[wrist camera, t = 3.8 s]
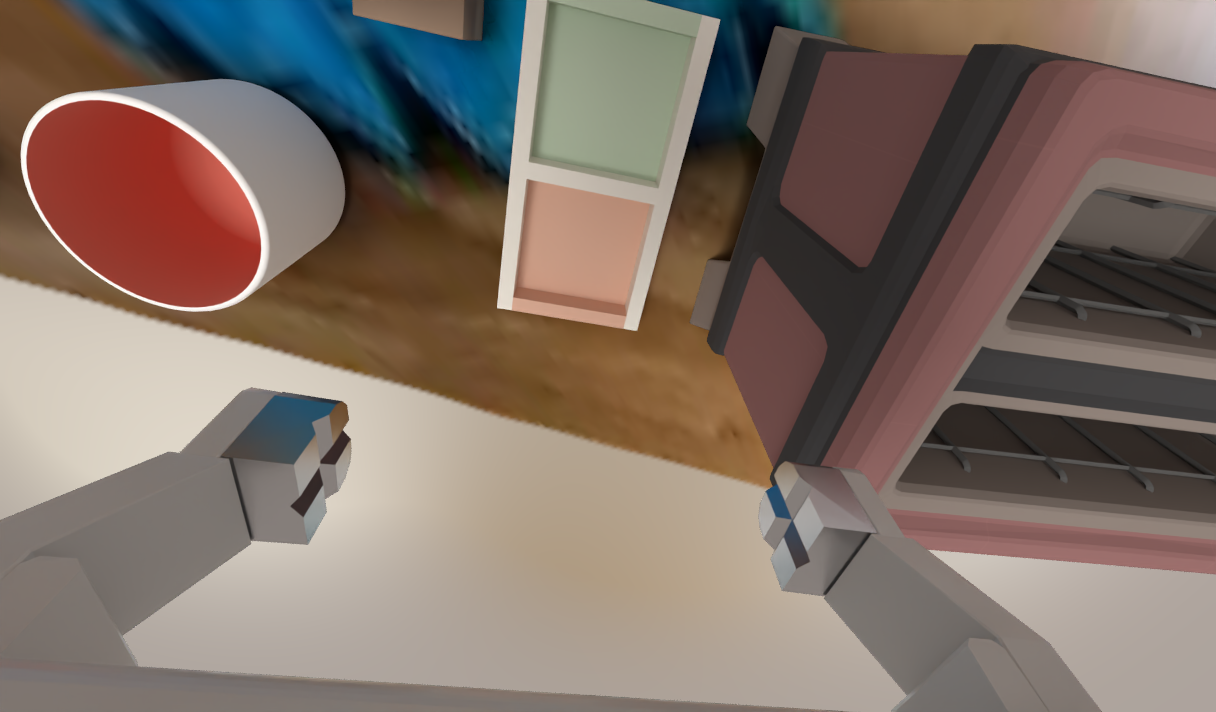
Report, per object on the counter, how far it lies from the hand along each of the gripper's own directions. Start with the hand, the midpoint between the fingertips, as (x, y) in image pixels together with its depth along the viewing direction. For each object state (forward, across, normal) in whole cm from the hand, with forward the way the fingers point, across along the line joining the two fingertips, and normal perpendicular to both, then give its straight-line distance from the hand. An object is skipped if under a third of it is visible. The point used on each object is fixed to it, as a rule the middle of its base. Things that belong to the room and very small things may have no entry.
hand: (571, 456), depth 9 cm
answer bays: (+26, -1, +1) cm, 26 cm away
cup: (+26, +19, +4) cm, 33 cm away
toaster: (+27, -27, 0) cm, 38 cm away
